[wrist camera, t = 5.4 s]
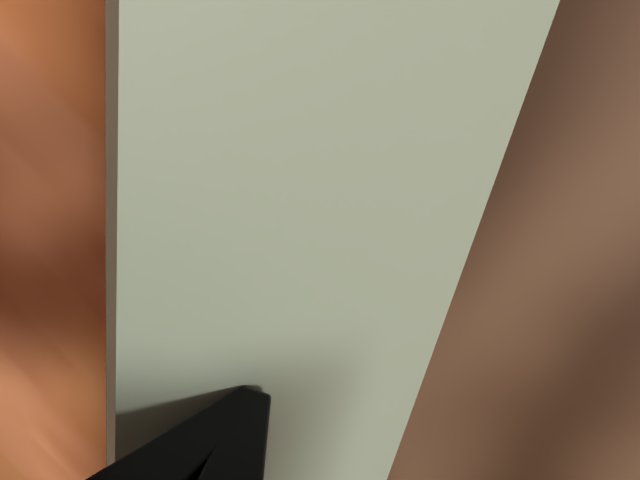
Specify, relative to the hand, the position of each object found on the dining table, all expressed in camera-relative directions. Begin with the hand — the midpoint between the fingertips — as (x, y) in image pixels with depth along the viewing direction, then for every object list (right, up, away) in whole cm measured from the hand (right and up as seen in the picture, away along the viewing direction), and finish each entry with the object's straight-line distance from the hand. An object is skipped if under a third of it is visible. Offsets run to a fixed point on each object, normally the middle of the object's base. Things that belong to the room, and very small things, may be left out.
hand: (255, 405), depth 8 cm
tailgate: (+4, +1, +4) cm, 6 cm away
